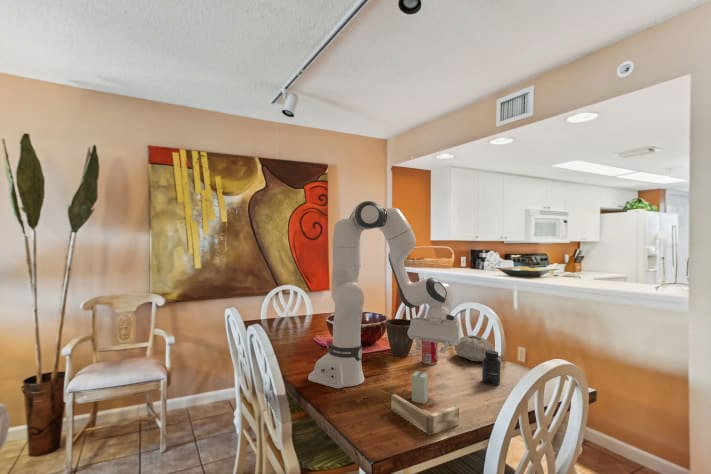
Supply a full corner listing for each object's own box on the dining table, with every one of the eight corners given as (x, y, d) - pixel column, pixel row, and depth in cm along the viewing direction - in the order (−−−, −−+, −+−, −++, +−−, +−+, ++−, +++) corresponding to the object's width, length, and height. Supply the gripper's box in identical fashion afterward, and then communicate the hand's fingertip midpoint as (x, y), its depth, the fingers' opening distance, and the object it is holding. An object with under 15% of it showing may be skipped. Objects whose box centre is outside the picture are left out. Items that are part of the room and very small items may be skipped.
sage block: (416, 396, 132) (416, 370, 133) (428, 398, 130) (428, 372, 130) (411, 400, 128) (411, 374, 129) (424, 403, 126) (424, 376, 126)
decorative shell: (502, 360, 172) (502, 339, 172) (478, 368, 162) (478, 345, 162) (470, 350, 186) (470, 331, 186) (446, 357, 176) (446, 336, 176)
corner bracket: (419, 401, 128) (419, 387, 128) (459, 424, 112) (459, 407, 112) (391, 410, 121) (391, 395, 121) (429, 435, 106) (429, 417, 106)
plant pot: (416, 351, 185) (416, 319, 185) (416, 361, 170) (416, 326, 170) (386, 349, 187) (386, 318, 187) (383, 359, 173) (383, 324, 173)
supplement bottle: (491, 387, 141) (491, 355, 141) (478, 380, 147) (478, 350, 147) (504, 383, 144) (504, 353, 144) (490, 377, 150) (490, 348, 150)
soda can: (437, 365, 164) (437, 336, 164) (421, 364, 165) (421, 335, 165) (437, 360, 171) (437, 332, 171) (421, 359, 172) (421, 331, 172)
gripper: (410, 312, 151) (401, 342, 142) (461, 317, 142) (455, 350, 133) (413, 321, 155) (405, 351, 146) (463, 327, 145) (458, 359, 137)
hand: (429, 350), depth 140 cm, fingers open, 8 cm apart
